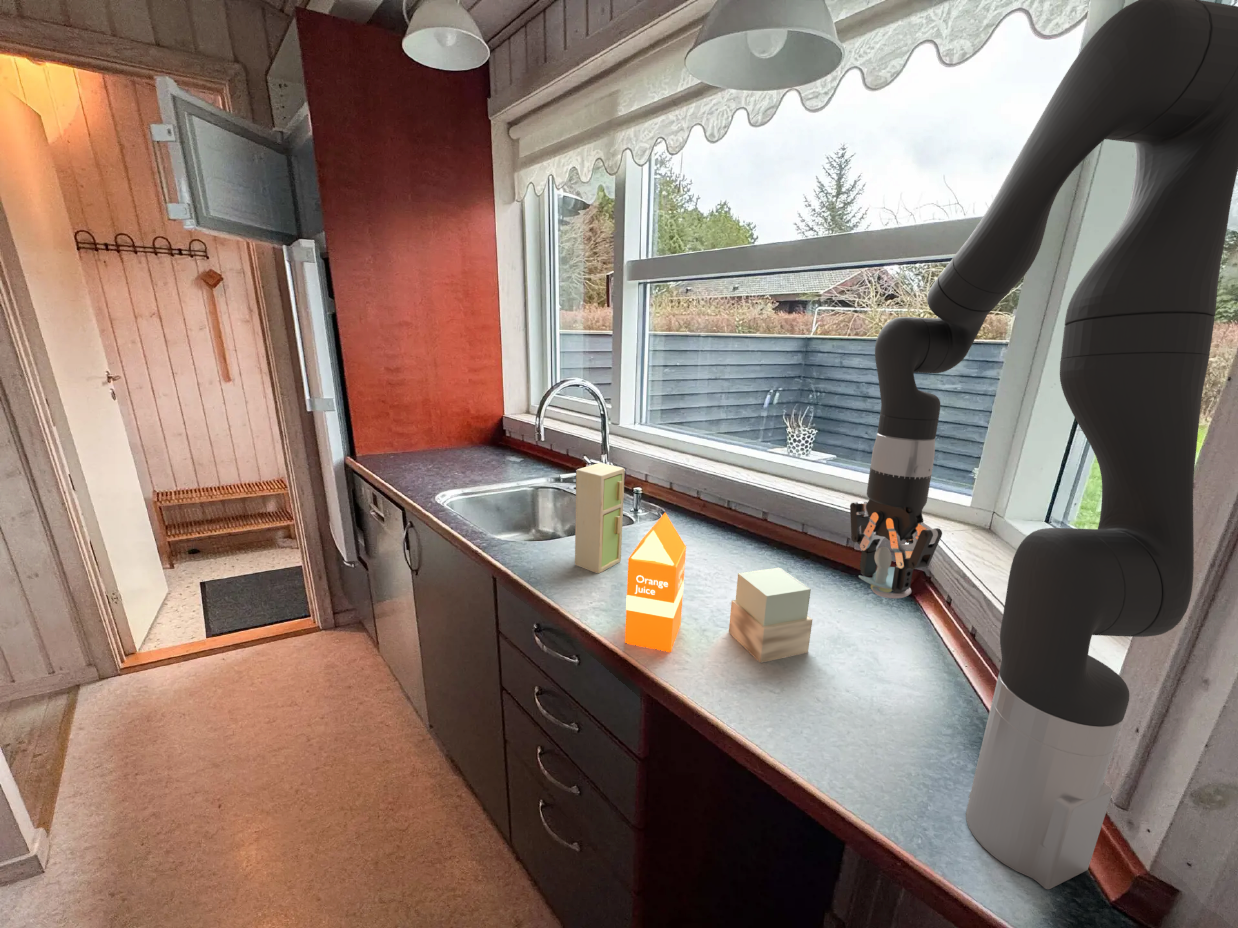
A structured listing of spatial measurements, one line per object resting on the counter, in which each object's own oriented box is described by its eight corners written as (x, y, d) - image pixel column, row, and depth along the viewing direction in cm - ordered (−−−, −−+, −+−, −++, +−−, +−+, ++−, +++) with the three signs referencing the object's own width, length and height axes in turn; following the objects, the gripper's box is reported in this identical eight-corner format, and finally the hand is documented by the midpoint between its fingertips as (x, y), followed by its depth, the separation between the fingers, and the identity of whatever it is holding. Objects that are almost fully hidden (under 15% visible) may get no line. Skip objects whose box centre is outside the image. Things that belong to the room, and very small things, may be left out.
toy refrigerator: (601, 575, 110) (603, 475, 104) (573, 565, 114) (575, 469, 109) (624, 562, 116) (628, 468, 111) (597, 553, 120) (600, 462, 115)
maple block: (807, 653, 86) (812, 619, 84) (760, 663, 83) (764, 628, 81) (773, 624, 94) (776, 592, 93) (728, 632, 91) (731, 600, 89)
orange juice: (681, 624, 93) (689, 514, 88) (671, 652, 84) (679, 533, 79) (637, 616, 95) (642, 508, 90) (623, 643, 87) (628, 526, 82)
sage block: (807, 618, 85) (810, 589, 83) (763, 625, 82) (766, 596, 81) (776, 594, 92) (779, 567, 91) (735, 600, 89) (738, 573, 88)
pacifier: (920, 594, 77) (882, 577, 82) (929, 554, 75) (889, 538, 80) (889, 605, 73) (851, 586, 78) (897, 563, 72) (858, 546, 77)
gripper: (969, 479, 69) (946, 601, 73) (879, 455, 82) (864, 560, 86) (926, 483, 66) (904, 609, 70) (840, 458, 79) (826, 565, 83)
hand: (882, 581), depth 78 cm, fingers closed on pacifier, 5 cm apart
